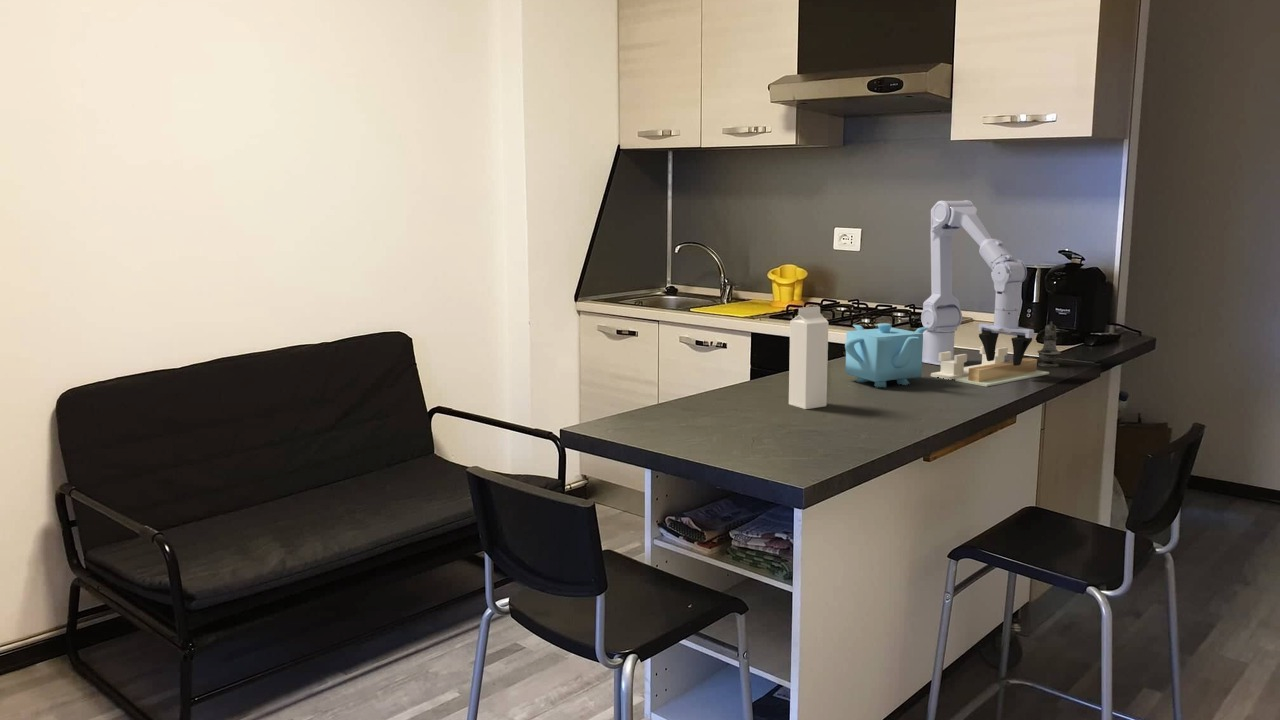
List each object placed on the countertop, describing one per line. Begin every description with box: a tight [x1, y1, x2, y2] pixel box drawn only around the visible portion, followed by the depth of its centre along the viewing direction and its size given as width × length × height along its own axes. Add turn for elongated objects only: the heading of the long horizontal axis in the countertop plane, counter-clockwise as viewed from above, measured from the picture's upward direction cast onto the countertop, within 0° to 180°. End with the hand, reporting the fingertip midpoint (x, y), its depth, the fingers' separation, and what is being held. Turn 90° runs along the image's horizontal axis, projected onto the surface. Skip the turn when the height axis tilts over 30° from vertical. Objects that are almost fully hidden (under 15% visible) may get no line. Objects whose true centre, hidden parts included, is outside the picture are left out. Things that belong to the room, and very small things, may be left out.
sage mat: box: [954, 369, 1050, 387], centre depth 243 cm, size 9×26×1 cm, turn 125°
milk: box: [788, 305, 829, 410], centre depth 212 cm, size 6×6×22 cm
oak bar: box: [968, 357, 1038, 382], centre depth 243 cm, size 3×24×3 cm, turn 125°
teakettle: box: [844, 322, 929, 388], centre depth 238 cm, size 19×19×15 cm
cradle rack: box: [930, 345, 1009, 381], centre depth 250 cm, size 6×26×6 cm, turn 125°
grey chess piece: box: [1037, 320, 1062, 368], centre depth 258 cm, size 6×6×12 cm
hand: (1003, 362), depth 243 cm, fingers open, 7 cm apart
